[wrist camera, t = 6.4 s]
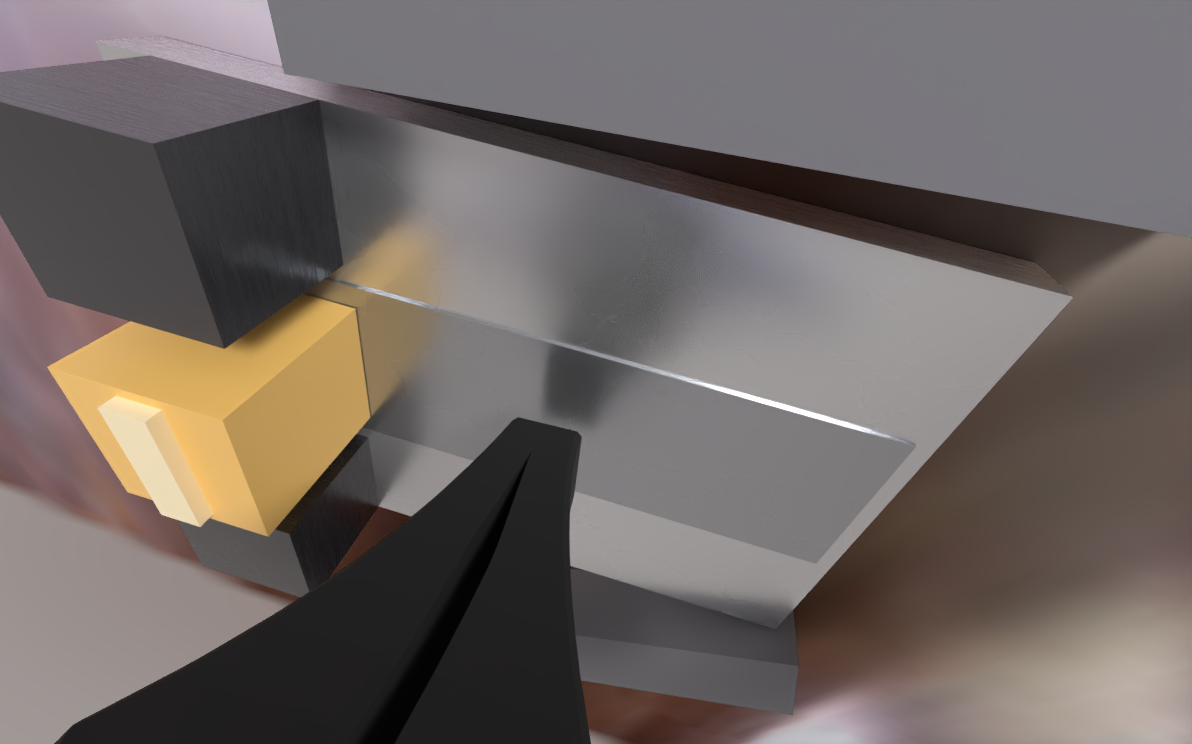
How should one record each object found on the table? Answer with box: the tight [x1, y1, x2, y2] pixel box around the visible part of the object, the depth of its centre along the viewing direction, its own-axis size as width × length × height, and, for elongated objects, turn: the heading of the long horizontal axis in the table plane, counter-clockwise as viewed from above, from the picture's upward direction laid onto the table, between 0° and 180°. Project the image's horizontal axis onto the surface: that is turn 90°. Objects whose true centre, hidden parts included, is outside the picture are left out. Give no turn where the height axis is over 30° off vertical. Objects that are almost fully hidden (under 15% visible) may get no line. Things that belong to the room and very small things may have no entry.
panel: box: [0, 36, 1073, 629], centre depth 11 cm, size 16×11×4 cm
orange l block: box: [48, 294, 370, 537], centre depth 10 cm, size 3×3×4 cm
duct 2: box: [570, 569, 799, 715], centre depth 17 cm, size 13×3×2 cm, turn 99°
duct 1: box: [267, 0, 1192, 238], centre depth 6 cm, size 13×3×3 cm, turn 83°
